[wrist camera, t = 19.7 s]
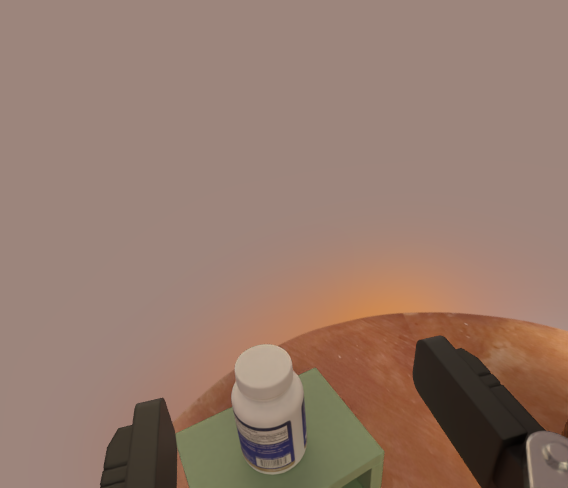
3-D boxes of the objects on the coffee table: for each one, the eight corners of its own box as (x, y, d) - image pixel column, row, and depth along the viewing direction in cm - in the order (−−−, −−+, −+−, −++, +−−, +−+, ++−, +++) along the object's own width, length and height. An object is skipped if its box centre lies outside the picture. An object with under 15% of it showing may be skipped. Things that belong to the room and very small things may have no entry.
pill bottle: (267, 405, 34) (256, 328, 29) (319, 433, 31) (316, 352, 27) (227, 454, 30) (209, 374, 26) (282, 491, 27) (272, 408, 23)
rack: (317, 414, 41) (315, 366, 37) (379, 501, 33) (384, 451, 29) (188, 482, 35) (173, 434, 32) (226, 606, 27) (211, 560, 24)
